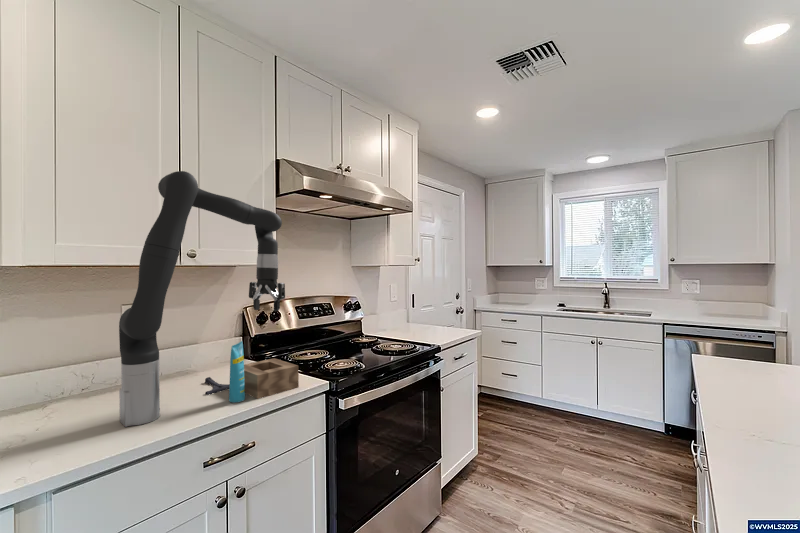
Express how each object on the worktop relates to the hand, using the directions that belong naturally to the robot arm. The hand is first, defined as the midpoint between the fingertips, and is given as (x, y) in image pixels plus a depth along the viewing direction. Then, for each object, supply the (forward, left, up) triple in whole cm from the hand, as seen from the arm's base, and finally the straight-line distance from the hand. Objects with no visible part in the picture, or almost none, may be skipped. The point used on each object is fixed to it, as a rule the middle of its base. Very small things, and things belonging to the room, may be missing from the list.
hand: (266, 310), depth 140 cm
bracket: (-12, +16, -29) cm, 35 cm away
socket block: (-1, -1, -28) cm, 28 cm away
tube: (-14, -5, -29) cm, 32 cm away
